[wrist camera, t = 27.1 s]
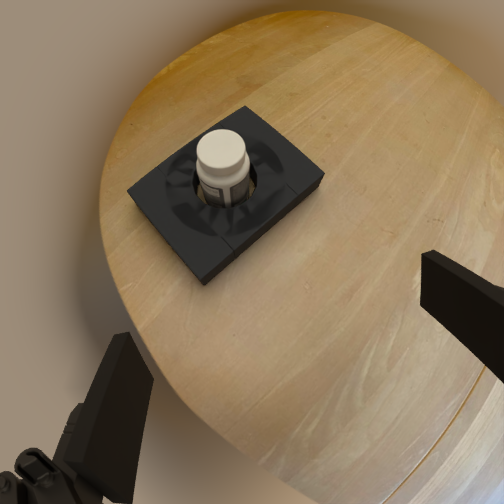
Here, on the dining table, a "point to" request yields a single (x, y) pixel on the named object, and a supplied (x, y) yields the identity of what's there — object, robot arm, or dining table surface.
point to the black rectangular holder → (220, 219)
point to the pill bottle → (223, 169)
